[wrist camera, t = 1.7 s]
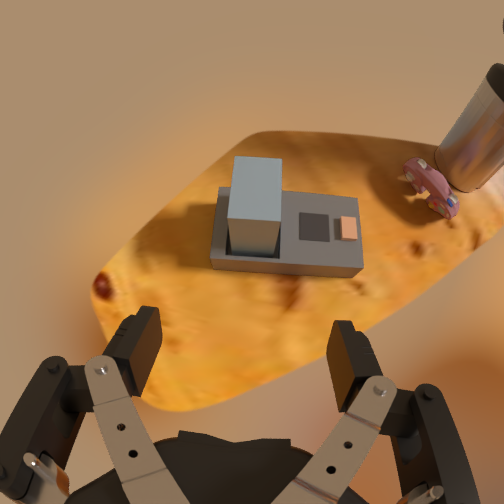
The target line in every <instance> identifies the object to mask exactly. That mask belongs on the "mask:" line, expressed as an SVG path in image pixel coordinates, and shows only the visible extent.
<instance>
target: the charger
mask: <svg viewBox="0 0 504 504" xmlns="http://www.w3.org/2000/svg"><path fill="white" fill-rule="evenodd" d="M281 197H282V159H276V158H262V157H246V156H235V159H234V167H233V175H232V183H231V191H230V199H229V207H228V216H227V220H228V227H229V234H230V242H231V249H232V256H244V257H259V258H273V254H274V250H275V245H276V241H277V237H278V232H279V228H280V223H281Z"/></svg>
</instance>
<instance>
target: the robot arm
mask: <svg viewBox="0 0 504 504" xmlns="http://www.w3.org/2000/svg"><path fill="white" fill-rule="evenodd" d="M503 32H504V20H503ZM435 160H436V164H437V166H438V168H439V170H440V172H441V173H442V175H443V176H444V177H445V178H446V180H447V181H448V182H449V183H450V184H452V185H453V186H454V187H455V188H457V189H459V190H461V191H463V192H472V191H474V190H475V189H476V188H479V189H480V188H481V187H482V186H483V185H484V184H485V183H486V182H487V181H488V180H489V179H490V178H491V177H492V176H493V175H494V174H495V173H496V172H497V171H498V170H499V169H500V168H501V167H502V166H503V165H504V65H503V64H499V63H496V64H494V65H493V66H492V67H491V68H490V70H489V71H488V73H487V75H486V77H485V78H484V80H483V81H482V83H481V85H480V86H479V88H478V89H477V91H476V93H475V94H474V96H473V97H472V99H471V100H470V102H469V103H468V105H467V107H466V108H465V109H464V111H463V113H462V114H461V115H460V117H459V118H458V120H457V121H456V123H455V124H454V126H453V127H452V128H451V130H450V131H449V133H448V134H447V135H446V137H445V138H444V140H443V141H442V143H441V144H440V145H439V147H438V148H437V150H436V152H435ZM161 344H162V328H161V321H160V314H159V309H158V308H157V307H150V306H141V307H140V309H139V311H138V312H137V314H136V315H130V316H128V317H127V318H126V319H124V320H123V321H122V323H121V324H120V326H119V328H118V329H117V331H116V332H115V335H114V336H113V337H112V339H111V341H110V342H109V344H108V346H107V347H106V349H105V351H104V352H103V354H102V355H100V356H96V357H93V358H91V359H90V360H89V361H88V362H87V363H86V365H81V366H68V363H67V361H66V360H65V359H64V358H63V357H60V356H52V357H49V358H47V359H45V360H44V361H43V362H42V363H41V365H40V366H39V368H38V369H37V371H36V372H35V374H34V376H33V377H32V379H31V381H30V382H29V384H28V386H27V387H26V389H25V391H24V392H23V394H22V396H21V398H20V399H19V401H18V403H17V405H16V406H15V408H14V410H13V412H12V413H11V415H10V417H9V419H8V421H7V423H6V425H5V427H4V428H3V430H2V433H1V434H0V492H2V493H3V494H4V495H5V496H6V497H7V498H9V499H10V500H12V501H13V502H15V503H16V504H369V503H367V502H366V501H365V500H364V499H363V498H362V497H360V496H359V495H358V494H357V493H356V492H355V491H353V490H352V489H351V488H350V487H349V486H348V485H349V483H350V482H351V480H352V479H353V477H354V476H355V474H356V472H357V471H358V469H359V468H360V466H361V464H362V463H363V460H364V459H365V457H366V456H367V454H368V452H369V450H370V449H371V447H372V445H373V443H374V441H375V440H376V438H377V436H378V434H382V435H389V436H390V438H391V442H392V446H393V451H394V455H395V461H396V466H397V471H398V476H399V481H400V486H401V492H402V498H401V499H400V500H399V501H398V502H397V503H396V504H480V500H479V496H478V492H477V488H476V485H475V482H474V479H473V475H472V472H471V468H470V465H469V462H468V459H467V456H466V453H465V450H464V448H463V445H462V442H461V439H460V437H459V434H458V431H457V429H456V426H455V424H454V421H453V418H452V416H451V413H450V411H449V409H448V406H447V404H446V402H445V399H444V397H443V395H442V393H441V391H440V390H439V389H438V388H437V387H436V386H433V385H431V384H421V385H419V386H418V387H417V388H416V389H415V391H408V390H401V389H398V388H396V386H395V384H394V383H393V381H392V380H390V379H389V378H386V377H384V376H383V374H382V371H381V369H380V366H379V364H378V361H377V359H376V356H375V354H374V352H373V349H372V348H371V344H370V342H369V340H368V338H367V337H366V336H365V335H364V334H363V333H362V332H361V331H355V329H354V326H353V324H352V321H346V320H335V321H334V323H333V326H332V330H331V334H330V337H329V341H328V345H327V352H326V355H327V361H328V365H329V370H330V374H331V379H332V383H333V388H334V391H335V397H336V401H337V406H338V410H339V412H345V413H344V415H343V416H342V418H341V419H340V421H339V422H338V423H337V425H336V426H335V428H334V429H333V430H332V432H331V433H330V435H329V436H328V438H327V439H326V440H325V441H324V443H323V444H322V445H321V447H320V448H319V449H318V451H317V452H316V453H315V455H312V454H311V453H309V452H307V451H305V450H302V449H300V448H297V447H293V446H291V442H290V439H257V440H251V441H244V442H237V443H233V442H229V441H226V440H223V439H219V438H216V437H213V436H210V435H207V434H202V433H194V432H188V431H181V430H180V431H179V434H178V437H173V438H167V439H163V440H160V441H158V442H155V443H152V441H151V439H150V437H149V435H148V433H147V431H146V429H145V427H144V425H143V423H142V421H141V419H140V417H139V415H138V413H137V410H136V408H135V406H134V404H133V402H132V400H131V397H132V395H133V396H138V397H141V395H142V392H143V389H144V387H145V384H146V382H147V379H148V377H149V374H150V372H151V369H152V367H153V364H154V362H155V359H156V357H157V354H158V352H159V349H160V347H161ZM86 412H94V413H95V416H96V419H97V422H98V425H99V428H100V431H101V434H102V436H103V439H104V442H105V444H106V447H107V450H108V452H109V455H110V457H111V460H112V462H113V464H114V467H115V468H114V469H112V470H110V471H109V472H107V473H106V474H104V475H102V476H101V477H99V478H97V479H95V480H94V481H92V482H90V483H89V484H87V485H85V486H83V487H82V488H80V489H78V490H76V491H74V492H73V493H72V494H69V478H68V476H67V474H66V473H65V472H64V470H65V467H66V464H67V461H68V458H69V455H70V453H71V450H72V447H73V445H74V442H75V439H76V437H77V434H78V432H79V429H80V427H81V424H82V421H83V419H84V417H85V414H86Z"/></svg>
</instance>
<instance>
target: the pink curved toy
mask: <svg viewBox="0 0 504 504" xmlns="http://www.w3.org/2000/svg"><path fill="white" fill-rule="evenodd" d="M403 170H404V172H405V174H406V178H407V180H408V181H410V183H411V185H412V187H413V188H414V189H415V191H416V192H418V193H419V194H422V193H423V192H424V191H425V190H426V189H427V190H428V191H429V193H430V196H428V197H427V199H426V202H427V204H428V206H429V207H430V208H431V209H432V210H434V211H436V212H438V213H440V214H441V215H442V216H443V217H445V218H446V219H448V220H450V219H451V218H452V217H454V216H456V214H457V212H458V210H459V201H458V198H457V196H456V195H455V194H454V193H453V191H452V190H451V188H450V187H449V185H448V183H447V180H446V179H445V177H444V176H443V175H442V174H441V173H440V172H438V171H437V170H435V169H433V168H432V167H430V166H429V165H428V164H427V163H426V162H425V161H424V160H423V159H421V158H419V157H414V158H411V159H410V160H408V161H407V162H406V163H405V164H404V165H403Z"/></svg>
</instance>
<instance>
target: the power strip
mask: <svg viewBox="0 0 504 504" xmlns="http://www.w3.org/2000/svg"><path fill="white" fill-rule="evenodd" d="M230 191H231V187H219V191H218V198H217V205H216V213H215V220H214V227H213V235H212V243H211V251H210V261H211V263H212V266H213V269H216V270H230V271H244V272H259V273H274V274H290V275H307V276H325V277H344V278H353V277H354V276H355V275H356V274H357V273H359V272H360V271H361V270H362V269H363V268H364V264H363V250H362V237H361V226H360V216H359V207H358V199H357V198H352V197H343V196H334V195H325V194H315V193H304V192H293V191H282V197H281V223H280V228H279V232H278V237H277V241H276V245H275V250H274V254H273V258H259V257H244V256H232V249H231V242H230V234H229V227H228V220H227V216H228V207H229V199H230Z"/></svg>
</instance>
